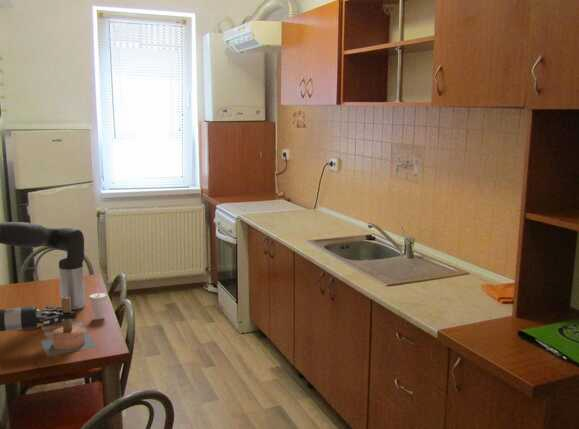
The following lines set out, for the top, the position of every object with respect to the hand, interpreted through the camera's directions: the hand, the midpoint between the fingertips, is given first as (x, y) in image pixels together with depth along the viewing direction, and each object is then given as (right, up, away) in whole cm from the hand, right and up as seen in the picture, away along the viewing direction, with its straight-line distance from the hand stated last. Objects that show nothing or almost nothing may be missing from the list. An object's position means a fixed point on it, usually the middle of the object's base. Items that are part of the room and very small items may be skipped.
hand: (75, 313), depth 194 cm
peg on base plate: (-3, -11, +1) cm, 11 cm away
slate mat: (-3, -11, +1) cm, 12 cm away
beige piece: (-23, -9, +20) cm, 32 cm away
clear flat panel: (-10, -9, +14) cm, 19 cm away
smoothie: (-1, -7, +26) cm, 27 cm away
